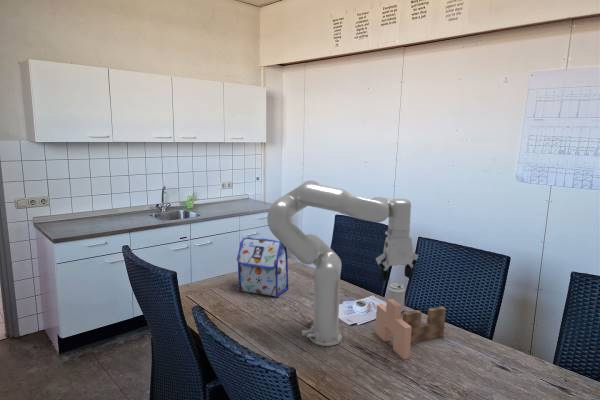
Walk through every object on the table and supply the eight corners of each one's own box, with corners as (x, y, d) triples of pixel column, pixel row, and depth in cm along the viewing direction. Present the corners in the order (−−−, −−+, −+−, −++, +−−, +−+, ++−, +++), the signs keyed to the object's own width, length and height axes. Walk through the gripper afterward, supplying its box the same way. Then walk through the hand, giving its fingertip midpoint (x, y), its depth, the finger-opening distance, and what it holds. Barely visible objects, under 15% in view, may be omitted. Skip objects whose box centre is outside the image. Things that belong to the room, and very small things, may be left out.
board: (404, 344, 153) (406, 314, 151) (401, 341, 155) (403, 312, 153) (443, 337, 159) (445, 308, 157) (440, 334, 161) (442, 306, 159)
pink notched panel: (409, 358, 144) (412, 313, 141) (403, 359, 143) (406, 314, 140) (380, 332, 162) (383, 292, 159) (375, 332, 161) (377, 292, 159)
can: (404, 314, 178) (405, 289, 176) (386, 312, 180) (388, 287, 178) (403, 307, 185) (404, 282, 183) (386, 306, 187) (388, 281, 185)
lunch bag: (234, 293, 198) (233, 240, 193) (249, 282, 213) (249, 232, 209) (276, 300, 190) (277, 246, 186) (289, 288, 206) (290, 237, 201)
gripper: (382, 237, 139) (380, 284, 142) (425, 233, 145) (422, 279, 147) (372, 232, 146) (370, 277, 149) (413, 229, 152) (410, 272, 154)
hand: (396, 278), depth 148 cm, fingers open, 9 cm apart
